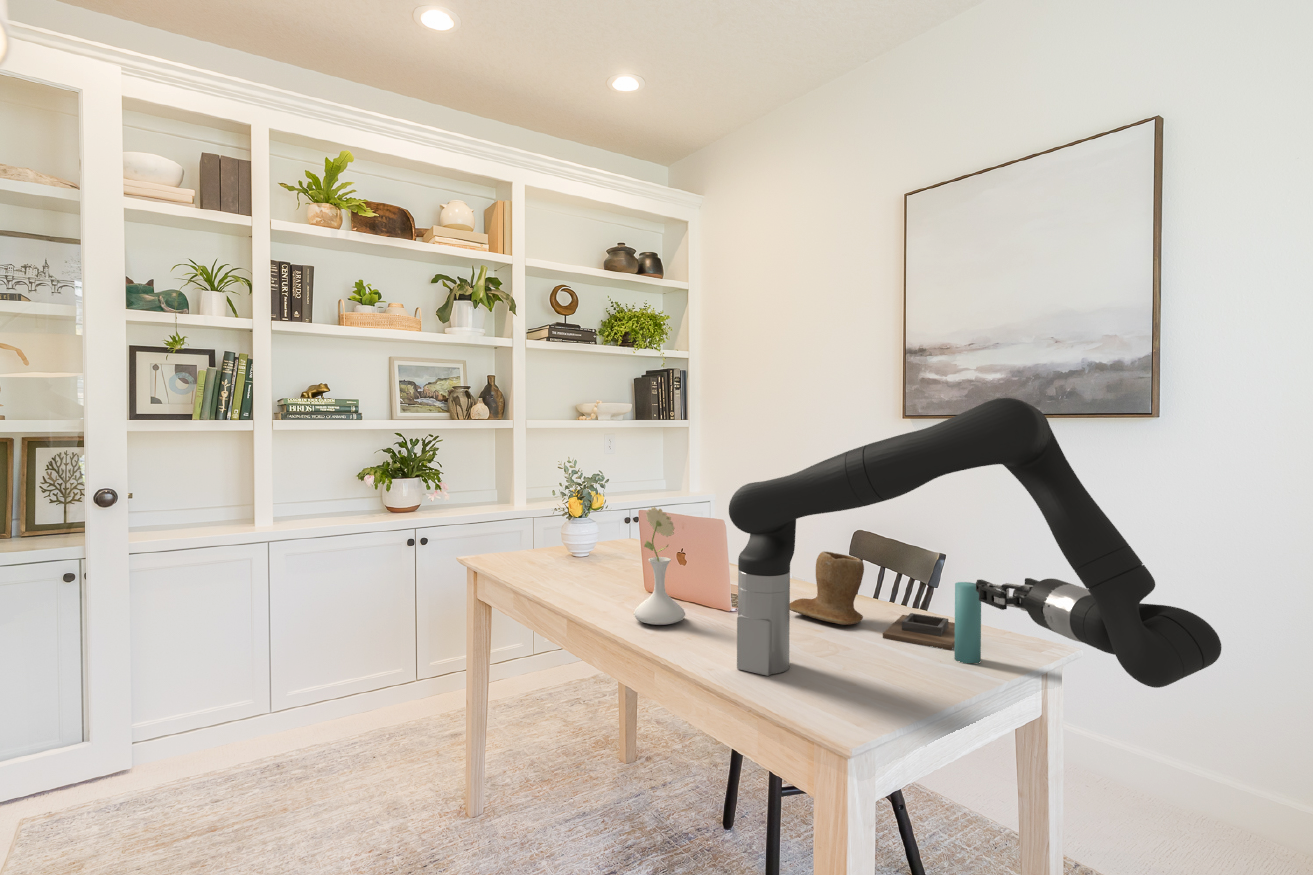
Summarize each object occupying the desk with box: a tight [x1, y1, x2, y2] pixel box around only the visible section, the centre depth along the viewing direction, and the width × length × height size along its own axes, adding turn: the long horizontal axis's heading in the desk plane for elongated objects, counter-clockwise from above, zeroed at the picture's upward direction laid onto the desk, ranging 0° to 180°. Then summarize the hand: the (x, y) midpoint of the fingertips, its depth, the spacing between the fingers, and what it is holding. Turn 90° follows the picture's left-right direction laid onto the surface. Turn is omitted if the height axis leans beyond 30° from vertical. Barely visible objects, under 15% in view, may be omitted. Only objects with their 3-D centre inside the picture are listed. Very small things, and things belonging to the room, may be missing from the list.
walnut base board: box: [882, 612, 955, 651], centre depth 138 cm, size 16×13×3 cm
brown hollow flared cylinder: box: [790, 551, 865, 625], centre depth 149 cm, size 15×12×15 cm
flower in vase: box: [633, 506, 686, 626], centre depth 147 cm, size 13×11×25 cm
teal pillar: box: [954, 581, 982, 664], centre depth 123 cm, size 4×4×14 cm
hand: (1002, 584), depth 113 cm, fingers open, 8 cm apart
